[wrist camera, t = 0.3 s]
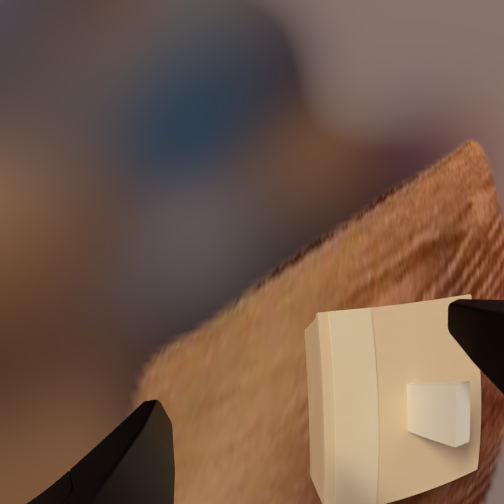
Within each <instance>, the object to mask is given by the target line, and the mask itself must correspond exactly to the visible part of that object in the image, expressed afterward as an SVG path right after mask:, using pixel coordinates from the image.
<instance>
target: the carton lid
mask: <svg viewBox="0 0 504 504" xmlns="http://www.w3.org/2000/svg"><path fill="white" fill-rule="evenodd" d="M457 299H472V298H471V294H468V295H462V296H456V297H450V298H443V299H436V300H429V301H422V302H415V303H407V304H399V305H391V306H382V307H373V308H362V309H352V310H341V311H330V312H320V313H317V314H316V323H317V336H318V351H319V367H320V385H321V408H322V444H323V499H322V504H386V503H390V502H394V501H397V500H400V499H404V498H407V497H410V496H413V495H416V494H419V493H422V492H425V491H428V490H430V489H433V488H436V487H438V486H441V485H443V484H446V483H448V482H451V481H453V480H455V479H458V478H460V477H462V476H465V475H467V474H469V473H471V472H473V471H475V470H477V468H478V459H479V448H480V433H481V375H480V369H479V368H478V367H477V366H476V365H475V364H474V363H473V361H472V360H471V359H470V358H469V357H468V355H467V354H466V353H465V351H464V350H463V349H462V348H461V346H460V345H459V344H458V343H457V342H456V340H455V339H454V338H453V337H452V335H451V334H450V333H449V330H448V306H449V304H450V303H451V302H453V301H455V300H457Z"/></svg>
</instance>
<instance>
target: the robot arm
mask: <svg viewBox="0 0 504 504" xmlns="http://www.w3.org/2000/svg"><path fill="white" fill-rule="evenodd" d="M448 330H449V333H450V334H451V335H452V337H453V338H454V339H455V340H456V342H457V343H458V344H459V345H460V346H461V348H462V349H463V350H464V351H465V353H466V354H467V355H468V357H469V358H470V359H471V360H472V361H473V363H474V364H475V365H476V366H477V367H478V368H479V369H480V370H481V371H482V372H483V373H484V374H485V375H486V376H487V378H488V379H489V380H490V381H491V382H492V383H493V384H494V385H495V386H496V387H497V388H498V389H499V390H500V391H501V392H502V394H503V395H504V300H482V299H457V300H455V301H453V302H451V303H450V304H449V306H448ZM174 481H175V463H174V450H173V434H172V424H171V421H170V419H169V417H168V415H167V414H166V412H165V410H164V408H163V406H162V404H161V403H160V402H159V401H158V400H150V401H145V402H143V403H142V404H141V405H140V406H139V407H138V408H137V409H136V410H135V411H134V412H133V413H131V414H130V415H129V416H128V417H127V418H126V419H125V420H124V421H123V422H122V423H121V424H120V425H119V426H118V427H116V429H114V430H113V431H112V432H111V433H110V434H109V435H108V436H107V437H106V438H105V439H103V440H102V441H101V442H100V443H99V444H98V445H97V446H96V447H95V448H94V449H93V450H91V452H89V453H88V454H87V455H86V456H85V457H84V458H83V459H81V460H80V461H79V462H78V463H77V464H76V465H75V466H74V467H72V468H71V470H70V471H68V472H67V473H66V474H65V475H63V476H62V477H61V478H60V479H59V480H58V481H56V482H55V483H54V484H53V485H52V486H50V487H49V488H48V489H46V490H45V491H44V492H42V493H41V494H40V495H38V496H37V497H36V498H34V499H33V500H31V501H30V502H28V503H27V504H174Z"/></svg>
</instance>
